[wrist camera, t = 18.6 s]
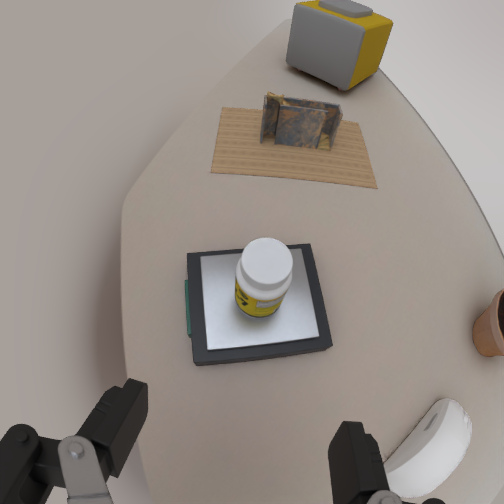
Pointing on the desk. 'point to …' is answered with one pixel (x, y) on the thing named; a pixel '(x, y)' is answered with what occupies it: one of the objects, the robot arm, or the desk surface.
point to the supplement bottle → (263, 277)
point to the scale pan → (247, 328)
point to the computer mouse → (430, 450)
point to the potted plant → (491, 328)
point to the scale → (252, 353)
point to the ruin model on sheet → (292, 143)
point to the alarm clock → (337, 41)
